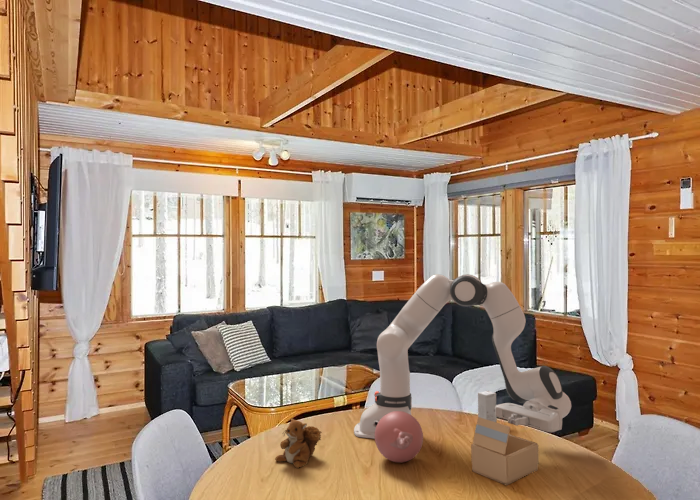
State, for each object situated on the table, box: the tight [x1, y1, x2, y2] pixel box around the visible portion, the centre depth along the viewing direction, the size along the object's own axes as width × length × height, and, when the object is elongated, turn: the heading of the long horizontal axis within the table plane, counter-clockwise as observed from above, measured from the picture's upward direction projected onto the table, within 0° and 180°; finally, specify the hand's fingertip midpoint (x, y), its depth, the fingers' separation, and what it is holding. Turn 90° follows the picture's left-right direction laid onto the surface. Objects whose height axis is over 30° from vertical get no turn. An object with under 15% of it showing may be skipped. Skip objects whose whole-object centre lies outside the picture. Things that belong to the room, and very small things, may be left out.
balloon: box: [374, 411, 424, 464], centre depth 158 cm, size 15×20×15 cm
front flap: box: [472, 416, 511, 454], centre depth 148 cm, size 8×11×1 cm
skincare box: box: [477, 390, 498, 423], centre depth 194 cm, size 6×4×12 cm
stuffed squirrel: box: [274, 418, 323, 469], centre depth 162 cm, size 10×14×13 cm
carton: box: [470, 433, 540, 486], centre depth 152 cm, size 16×13×8 cm
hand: (511, 421), depth 155 cm, fingers closed
